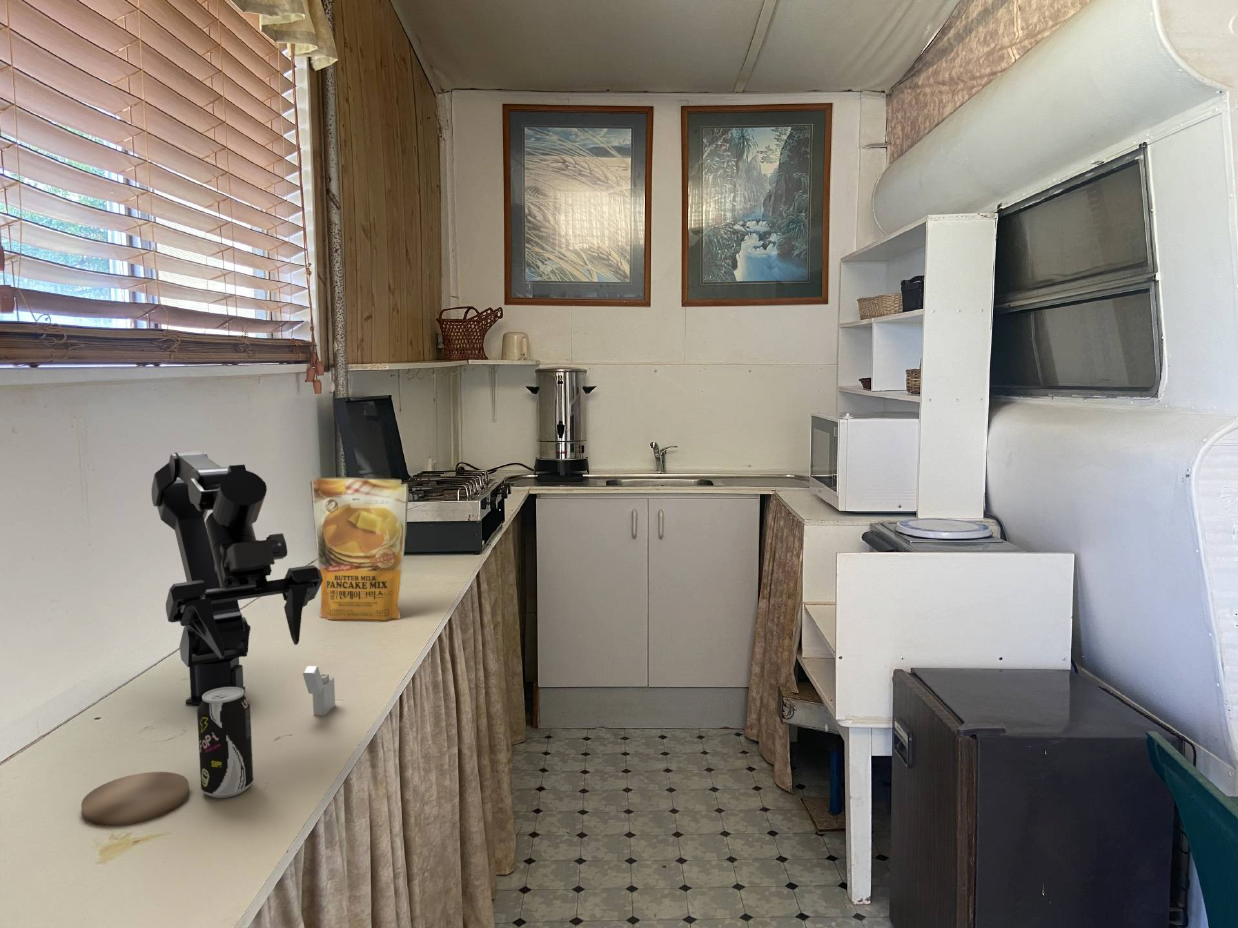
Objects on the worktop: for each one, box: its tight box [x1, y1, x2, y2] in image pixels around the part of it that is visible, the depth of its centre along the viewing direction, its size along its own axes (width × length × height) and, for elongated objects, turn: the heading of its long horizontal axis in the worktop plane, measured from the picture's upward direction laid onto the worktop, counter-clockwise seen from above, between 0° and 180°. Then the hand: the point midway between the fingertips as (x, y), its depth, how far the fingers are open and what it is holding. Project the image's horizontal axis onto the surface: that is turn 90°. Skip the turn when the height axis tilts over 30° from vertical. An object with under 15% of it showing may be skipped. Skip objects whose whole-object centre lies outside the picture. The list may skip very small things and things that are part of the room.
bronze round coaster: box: [81, 771, 190, 827], centre depth 105 cm, size 11×11×1 cm
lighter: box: [302, 665, 336, 717], centre depth 131 cm, size 7×2×8 cm, turn 176°
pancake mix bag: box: [309, 477, 410, 623], centre depth 179 cm, size 7×19×28 cm, turn 86°
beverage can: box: [196, 687, 254, 799], centre depth 107 cm, size 6×6×12 cm
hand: (260, 649), depth 116 cm, fingers open, 9 cm apart
